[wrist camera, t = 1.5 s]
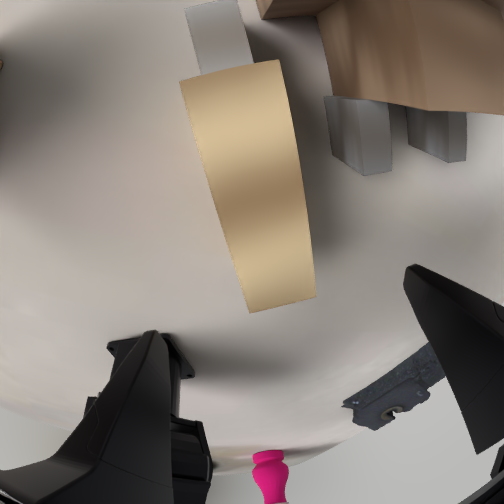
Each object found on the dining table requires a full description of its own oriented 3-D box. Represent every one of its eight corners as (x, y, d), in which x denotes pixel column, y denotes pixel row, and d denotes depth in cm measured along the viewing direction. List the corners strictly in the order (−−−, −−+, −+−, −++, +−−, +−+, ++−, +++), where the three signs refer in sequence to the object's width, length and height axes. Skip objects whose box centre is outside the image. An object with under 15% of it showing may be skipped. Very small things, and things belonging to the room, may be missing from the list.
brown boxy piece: (448, 141, 14) (559, 201, 6) (293, 162, 15) (383, 266, 6) (430, 8, 9) (549, 5, 1) (254, -4, 9) (307, -113, 1)
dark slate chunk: (472, 340, 33) (485, 360, 29) (374, 412, 40) (382, 433, 36) (457, 309, 26) (477, 336, 22) (329, 404, 34) (337, 432, 30)
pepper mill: (244, 454, 43) (254, 539, 27) (277, 447, 42) (293, 535, 26) (258, 459, 47) (270, 535, 30) (289, 452, 46) (305, 531, 29)
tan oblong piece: (294, 245, 18) (316, 296, 14) (241, 258, 18) (249, 313, 14) (246, 18, 10) (258, -15, 6) (179, 34, 10) (159, 8, 6)
